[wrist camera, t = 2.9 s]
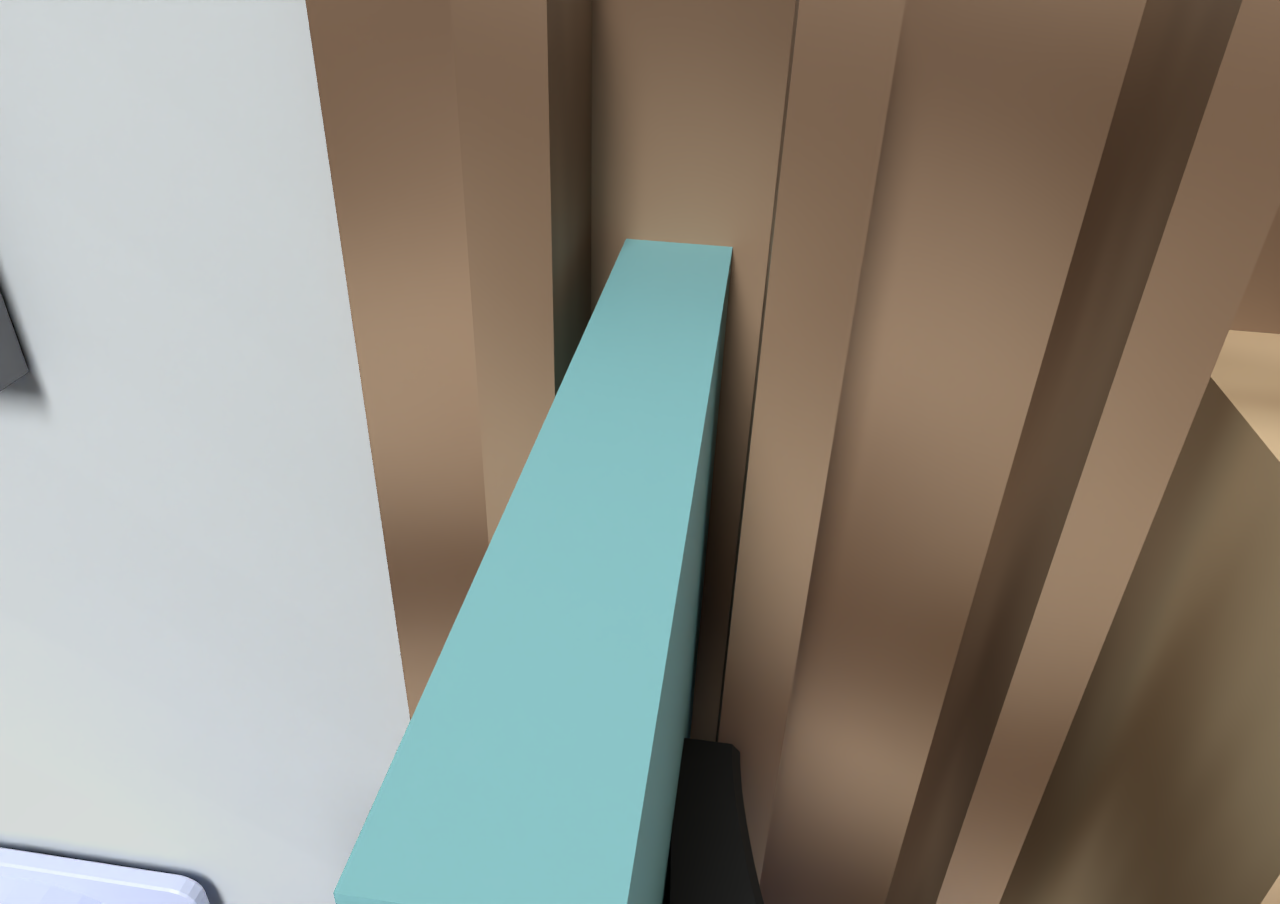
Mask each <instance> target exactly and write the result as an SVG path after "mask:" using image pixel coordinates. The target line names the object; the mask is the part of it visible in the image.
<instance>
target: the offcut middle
mask: <svg viewBox="0 0 1280 904" xmlns="http://www.w3.org/2000/svg"><path fill="white" fill-rule="evenodd" d="M999 904H1280V334H1272V333H1259V332H1247V331H1235V330H1229V332H1228V334H1227V337H1226V339H1225V342H1224V344H1223V347H1222V349H1221V352H1220V354H1219V357H1218V359H1217V362H1216V364H1215V367H1214V369H1213V372H1212V374H1211V377H1210V379H1209V382H1208V384H1207V387H1206V389H1205V392H1204V394H1203V397H1202V399H1201V402H1200V404H1199V407H1198V409H1197V412H1196V414H1195V417H1194V419H1193V422H1192V424H1191V427H1190V429H1189V432H1188V434H1187V437H1186V439H1185V442H1184V444H1183V447H1182V449H1181V452H1180V454H1179V457H1178V459H1177V461H1176V464H1175V466H1174V469H1173V471H1172V474H1171V476H1170V479H1169V481H1168V484H1167V486H1166V489H1165V491H1164V494H1163V496H1162V499H1161V501H1160V504H1159V506H1158V509H1157V511H1156V514H1155V516H1154V519H1153V521H1152V524H1151V526H1150V529H1149V531H1148V534H1147V536H1146V539H1145V541H1144V544H1143V546H1142V549H1141V551H1140V554H1139V556H1138V559H1137V561H1136V564H1135V566H1134V569H1133V571H1132V574H1131V576H1130V579H1129V581H1128V584H1127V586H1126V589H1125V591H1124V594H1123V596H1122V599H1121V601H1120V604H1119V606H1118V609H1117V611H1116V614H1115V616H1114V619H1113V621H1112V624H1111V626H1110V629H1109V631H1108V633H1107V636H1106V638H1105V641H1104V643H1103V646H1102V648H1101V651H1100V653H1099V656H1098V658H1097V661H1096V663H1095V666H1094V668H1093V671H1092V673H1091V676H1090V678H1089V681H1088V683H1087V686H1086V688H1085V691H1084V693H1083V696H1082V698H1081V701H1080V703H1079V706H1078V708H1077V711H1076V713H1075V716H1074V718H1073V721H1072V723H1071V726H1070V728H1069V731H1068V733H1067V736H1066V738H1065V741H1064V743H1063V746H1062V748H1061V751H1060V753H1059V756H1058V758H1057V761H1056V763H1055V766H1054V768H1053V771H1052V773H1051V776H1050V778H1049V781H1048V783H1047V786H1046V788H1045V791H1044V793H1043V796H1042V798H1041V801H1040V803H1039V805H1038V808H1037V810H1036V813H1035V815H1034V818H1033V820H1032V823H1031V825H1030V828H1029V830H1028V833H1027V835H1026V838H1025V840H1024V843H1023V845H1022V848H1021V850H1020V853H1019V855H1018V858H1017V860H1016V863H1015V865H1014V868H1013V870H1012V873H1011V875H1010V878H1009V880H1008V883H1007V885H1006V888H1005V890H1004V893H1003V895H1002V898H1001V900H1000V903H999Z"/></svg>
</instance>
